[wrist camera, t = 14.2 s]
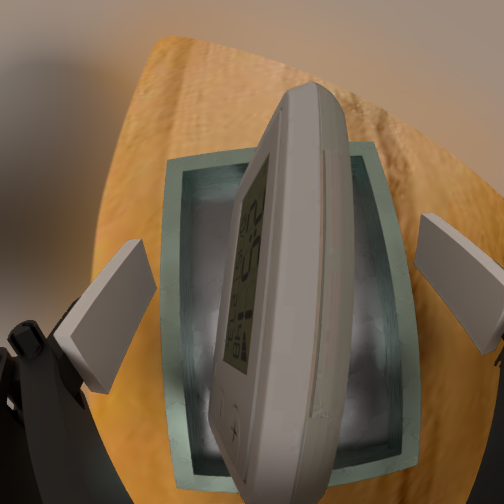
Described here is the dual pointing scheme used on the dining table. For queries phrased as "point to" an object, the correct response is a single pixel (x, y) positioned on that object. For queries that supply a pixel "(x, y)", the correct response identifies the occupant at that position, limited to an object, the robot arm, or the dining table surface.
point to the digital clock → (287, 306)
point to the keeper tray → (363, 328)
